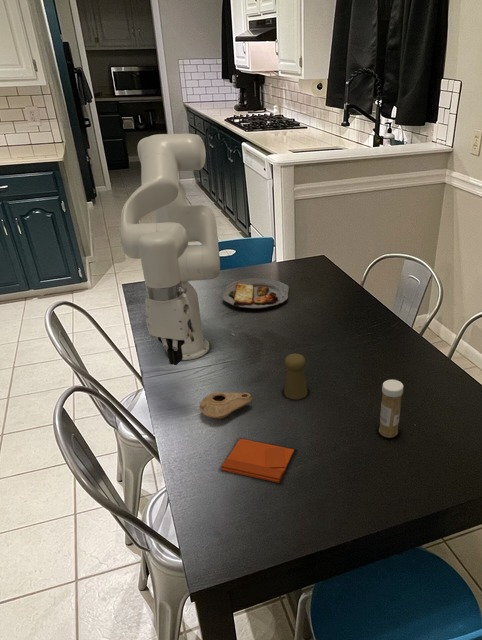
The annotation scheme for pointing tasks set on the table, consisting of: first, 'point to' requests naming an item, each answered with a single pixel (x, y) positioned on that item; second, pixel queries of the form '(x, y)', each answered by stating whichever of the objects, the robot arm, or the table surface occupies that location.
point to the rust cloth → (258, 460)
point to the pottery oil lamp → (223, 403)
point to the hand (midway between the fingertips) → (176, 361)
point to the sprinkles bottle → (390, 408)
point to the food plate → (255, 293)
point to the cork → (295, 377)
